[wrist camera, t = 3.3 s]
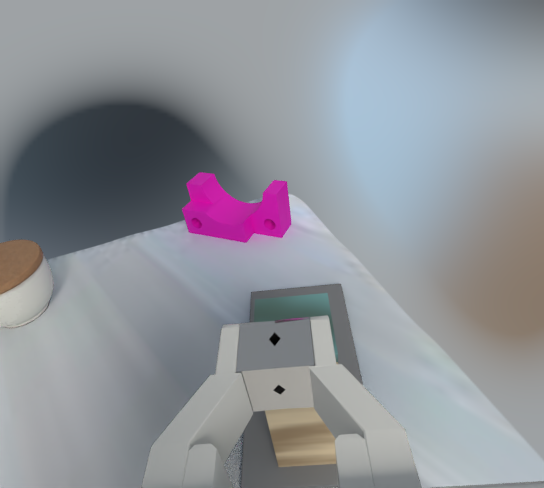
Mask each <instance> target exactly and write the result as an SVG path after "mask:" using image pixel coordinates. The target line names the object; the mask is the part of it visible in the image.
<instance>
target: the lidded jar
mask: <svg viewBox="0 0 544 488" xmlns="http://www.w3.org/2000/svg"><path fill="white" fill-rule="evenodd" d="M53 287H54V282H53V275H52V271H51V269H50V266H49V264H48V262H47V260H46V258H45V257H44V255H43V252H42V250H41V248H40V246H39V245H38V244H37V243H35V242H33V241H29V240H12V241H7V242H3V243H0V327H5V328H15V327H20V326H23V325H25V324H27V323H29V322H31V321H33V320H35V319H36V318H37V317H39V316H40V315H41V314H42V313H43V312H44V311H45V310H46V308H47V307H48V304H49V300H50V298H51V295H52V292H53Z"/></svg>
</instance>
